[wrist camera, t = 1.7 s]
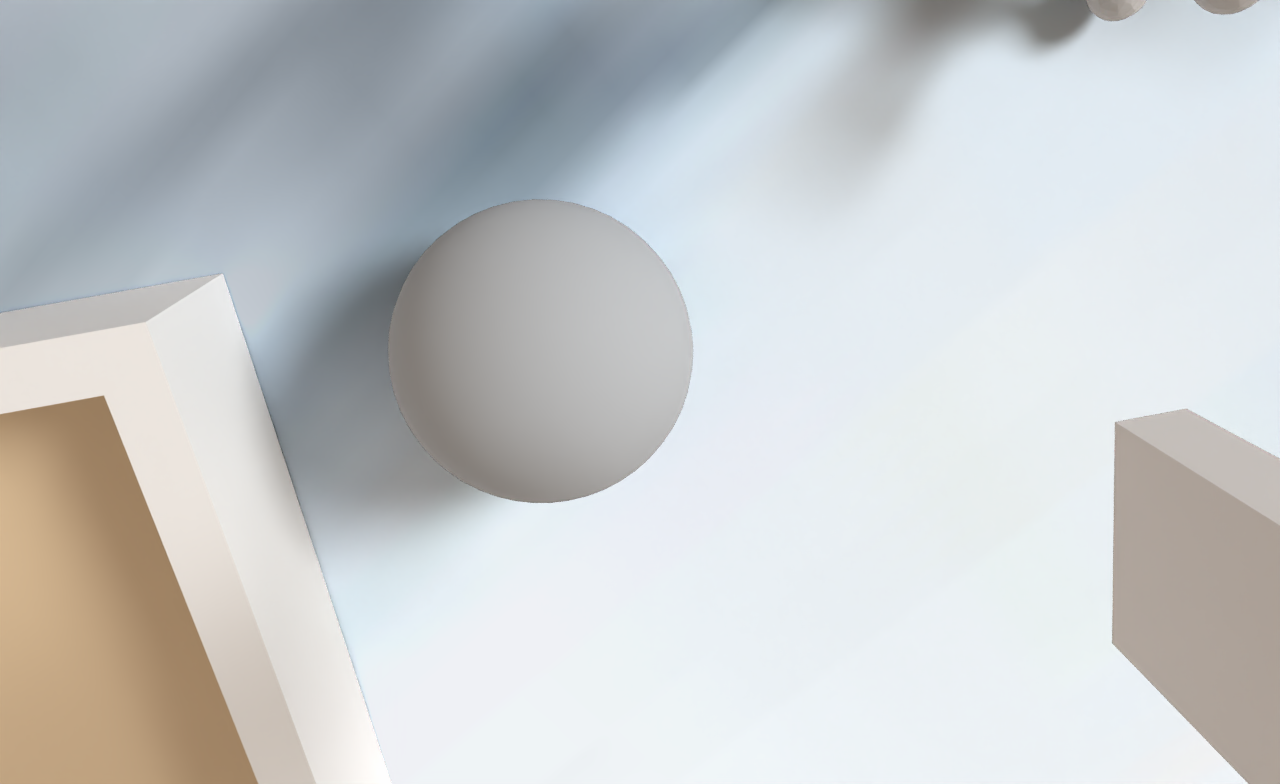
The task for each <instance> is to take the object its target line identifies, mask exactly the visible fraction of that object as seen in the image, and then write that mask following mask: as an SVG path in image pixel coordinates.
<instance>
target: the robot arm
mask: <svg viewBox="0 0 1280 784" xmlns="http://www.w3.org/2000/svg"><path fill="white" fill-rule="evenodd" d="M1112 643H1113V645H1114V646H1115V647H1116V648H1117V649H1118V650H1119V651H1120V652H1121V653H1122V654H1123V655H1124V656H1125V657H1126V658H1127V659H1128V660H1129V661H1130V662H1131V663H1132V664H1133V665H1134V666H1135V667H1136V668H1137V669H1138V670H1139V671H1140V672H1141V673H1142V674H1143V675H1144V676H1145V678H1146V679H1147V680H1148V681H1149V682H1150V683H1151V684H1152V685H1153V686H1154V687H1155V688H1156V689H1157V690H1158V691H1159V692H1160V693H1161V694H1162V695H1163V696H1164V697H1165V698H1166V699H1167V700H1168V701H1169V702H1170V703H1171V704H1172V705H1173V706H1174V707H1175V708H1176V709H1177V710H1178V712H1179V713H1180V714H1181V715H1182V716H1183V717H1184V718H1185V719H1186V720H1187V721H1188V722H1189V723H1190V724H1191V725H1192V726H1193V727H1194V728H1195V729H1196V730H1197V731H1198V732H1199V733H1200V734H1201V735H1202V736H1203V737H1204V738H1205V739H1206V740H1207V741H1208V742H1209V743H1210V744H1211V746H1212V747H1213V748H1214V749H1215V750H1216V751H1217V752H1218V753H1219V754H1220V755H1221V756H1222V757H1223V758H1224V759H1225V760H1226V761H1227V762H1228V763H1229V764H1230V765H1231V766H1232V767H1233V768H1234V769H1235V770H1236V771H1237V772H1238V773H1239V774H1240V775H1241V776H1242V777H1243V778H1244V780H1245V781H1246V782H1247V783H1248V784H1280V459H1279V458H1278V457H1276V456H1274V455H1272V454H1270V453H1268V452H1266V451H1264V450H1263V449H1261V448H1259V447H1257V446H1255V445H1253V444H1251V443H1250V442H1248V441H1246V440H1244V439H1242V438H1240V437H1238V436H1236V435H1235V434H1233V433H1231V432H1229V431H1227V430H1225V429H1223V428H1221V427H1220V426H1218V425H1216V424H1214V423H1212V422H1210V421H1208V420H1207V419H1205V418H1203V417H1201V416H1199V415H1197V414H1195V413H1193V412H1192V411H1190V410H1188V409H1182V410H1176V411H1171V412H1166V413H1160V414H1155V415H1150V416H1144V417H1139V418H1134V419H1128V420H1123V421H1118V422H1115V459H1114V537H1113V616H1112Z"/></svg>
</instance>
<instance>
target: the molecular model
mask: <svg viewBox="0 0 1280 784" xmlns="http://www.w3.org/2000/svg"><path fill="white" fill-rule="evenodd" d="M1086 1H1087V5H1088V7H1089V9H1090V10H1091V12H1092V13H1093V14H1094V15H1096V16H1097V17H1099V18H1101V19H1103V20H1107V21H1119V20H1123V19H1126V18H1128V17H1130V16H1132V15H1134V14H1135V13H1136V12H1137V11H1138V10H1140V9H1141V8H1142V7H1143V5H1144V4H1145V2H1146V1H1147V0H1086ZM1258 1H1259V0H1195V2H1196V3H1197V4H1198V5H1199V6H1200V7H1202V8H1203V9H1204V10H1206V11H1209V12H1211V13H1214V14H1233V13H1237V12H1240V11H1242V10H1244V9H1247V8H1249V7H1251V6H1252V5H1254V4H1255V3H1256V2H1258Z"/></svg>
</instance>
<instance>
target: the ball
mask: <svg viewBox="0 0 1280 784" xmlns="http://www.w3.org/2000/svg"><path fill="white" fill-rule="evenodd" d="M388 357H389V371H390V377H391V382H392V387H393V392H394V395H395V397H396V400H397V403H398V406H399V409H400V411H401V413H402V415H403V417H404V419H405V421H406V423H407V425H408V427H409V428H410V430H411V431H412V433H413V434H414V436H415V437H416V439H417V440H418V442H419V443H420V444H421V446H422V447H423V448H424V449H425V450H426V451H427V453H428V454H429V455H430V456H431V457H432V458H433V459H434V460H435V461H436V462H437V463H438V464H440V465H441V466H442V467H443V468H444V469H445V470H446V471H448V472H449V473H451V474H452V475H454V476H455V477H457V478H458V479H460V480H461V481H463V482H464V483H466V484H468V485H470V486H472V487H474V488H476V489H478V490H481V491H483V492H486V493H489V494H492V495H494V496H497V497H501V498H505V499H510V500H514V501H521V502H530V503H553V502H561V501H569V500H573V499H577V498H581V497H585V496H589V495H591V494H594V493H597V492H599V491H602V490H604V489H606V488H608V487H610V486H612V485H614V484H616V483H618V482H620V481H621V480H623V479H624V478H626V477H627V476H629V475H630V474H632V473H633V472H634V471H636V470H637V469H638V468H639V467H640V466H641V465H643V464H644V463H645V462H646V461H647V460H648V459H649V458H650V457H651V456H652V455H653V453H654V452H655V451H656V450H657V449H658V448H659V447H660V445H661V444H662V443H663V442H664V440H665V439H666V437H667V436H668V434H669V433H670V431H671V430H672V428H673V427H674V425H675V423H676V421H677V418H678V416H679V414H680V412H681V410H682V408H683V405H684V402H685V399H686V396H687V393H688V388H689V383H690V378H691V372H692V364H693V341H692V330H691V326H690V321H689V317H688V312H687V308H686V305H685V302H684V300H683V297H682V294H681V291H680V289H679V287H678V285H677V283H676V281H675V280H674V278H673V276H672V274H671V272H670V271H669V269H668V268H667V267H666V265H665V264H664V262H663V261H662V260H661V258H660V257H659V256H658V255H657V254H656V253H655V251H654V250H653V249H652V248H651V247H650V246H649V245H648V244H647V243H646V242H645V241H644V240H643V239H642V238H641V237H640V236H638V235H637V234H636V233H635V232H633V231H632V230H631V229H630V228H628V227H627V226H625V225H624V224H622V223H620V222H619V221H617V220H615V219H614V218H612V217H610V216H608V215H606V214H604V213H601V212H599V211H597V210H595V209H592V208H589V207H585V206H582V205H579V204H575V203H570V202H564V201H557V200H537V199H532V200H523V201H514V202H509V203H505V204H501V205H497V206H493V207H491V208H488V209H486V210H483V211H481V212H478V213H476V214H474V215H472V216H470V217H468V218H466V219H465V220H463V221H461V222H459V223H458V224H456V225H455V226H454V227H452V228H451V229H450V230H448V231H447V232H446V233H444V234H443V235H442V236H440V237H439V238H438V239H437V240H436V241H435V242H434V243H433V244H432V245H431V246H430V247H429V248H428V249H427V250H426V251H425V252H424V253H423V255H422V256H421V257H420V259H419V260H418V261H417V263H416V264H415V265H414V267H413V268H412V269H411V271H410V273H409V275H408V277H407V279H406V280H405V282H404V284H403V286H402V289H401V291H400V294H399V296H398V299H397V302H396V304H395V307H394V310H393V314H392V319H391V323H390V328H389V340H388Z"/></svg>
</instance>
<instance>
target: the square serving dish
mask: <svg viewBox="0 0 1280 784" xmlns="http://www.w3.org/2000/svg"><path fill="white" fill-rule="evenodd" d="M0 784H392V782H391V779H390V776H389V773H388V770H387V767H386V764H385V761H384V758H383V755H382V752H381V749H380V746H379V743H378V740H377V737H376V734H375V731H374V728H373V725H372V722H371V719H370V716H369V713H368V710H367V707H366V704H365V701H364V698H363V695H362V692H361V689H360V686H359V683H358V680H357V677H356V674H355V671H354V668H353V665H352V662H351V659H350V656H349V653H348V650H347V647H346V644H345V641H344V638H343V635H342V632H341V629H340V626H339V623H338V620H337V617H336V614H335V610H334V607H333V604H332V601H331V598H330V595H329V592H328V589H327V586H326V583H325V580H324V577H323V574H322V571H321V568H320V565H319V562H318V559H317V556H316V553H315V550H314V547H313V544H312V541H311V538H310V535H309V532H308V529H307V526H306V523H305V520H304V517H303V514H302V511H301V508H300V505H299V502H298V499H297V496H296V493H295V490H294V487H293V484H292V481H291V478H290V475H289V472H288V469H287V466H286V463H285V460H284V457H283V454H282V451H281V448H280V445H279V442H278V439H277V435H276V432H275V429H274V426H273V423H272V420H271V417H270V414H269V411H268V408H267V405H266V402H265V399H264V396H263V393H262V390H261V387H260V384H259V381H258V378H257V375H256V372H255V369H254V366H253V363H252V360H251V357H250V354H249V351H248V348H247V345H246V342H245V339H244V336H243V333H242V330H241V327H240V324H239V321H238V318H237V315H236V312H235V309H234V306H233V303H232V300H231V297H230V294H229V291H228V288H227V285H226V282H225V279H224V276H223V273H222V274H216V275H210V276H205V277H199V278H194V279H188V280H182V281H177V282H171V283H166V284H160V285H154V286H149V287H143V288H137V289H132V290H126V291H121V292H115V293H109V294H104V295H98V296H93V297H87V298H81V299H76V300H70V301H65V302H59V303H53V304H48V305H42V306H37V307H31V308H25V309H20V310H14V311H9V312H3V313H0Z"/></svg>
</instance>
